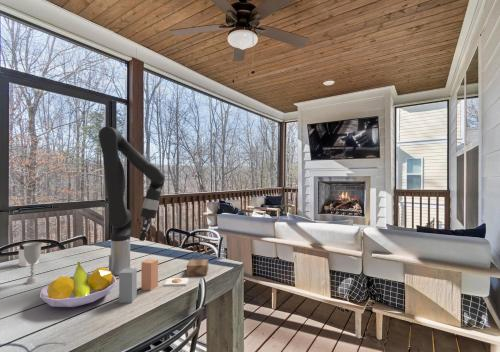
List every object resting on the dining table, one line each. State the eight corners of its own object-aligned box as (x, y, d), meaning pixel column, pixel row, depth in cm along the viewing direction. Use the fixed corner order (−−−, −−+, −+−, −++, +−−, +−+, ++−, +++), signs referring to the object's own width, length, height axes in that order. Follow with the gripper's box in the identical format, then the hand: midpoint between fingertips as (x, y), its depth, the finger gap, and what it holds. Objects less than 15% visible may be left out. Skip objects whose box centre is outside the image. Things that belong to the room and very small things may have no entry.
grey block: (119, 303, 107) (119, 272, 107) (124, 297, 112) (124, 268, 112) (132, 302, 108) (132, 272, 108) (136, 297, 113) (136, 268, 113)
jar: (22, 262, 156) (22, 241, 156) (40, 261, 159) (40, 240, 159) (16, 267, 148) (16, 245, 148) (35, 265, 151) (35, 244, 151)
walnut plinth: (186, 275, 137) (186, 265, 137) (189, 268, 147) (189, 259, 147) (206, 275, 138) (206, 265, 138) (208, 268, 148) (208, 259, 148)
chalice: (20, 286, 123) (20, 246, 123) (24, 281, 129) (24, 243, 129) (40, 283, 127) (40, 244, 127) (43, 278, 133) (43, 241, 133)
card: (164, 285, 124) (164, 283, 124) (167, 280, 131) (167, 278, 131) (186, 285, 125) (186, 283, 125) (188, 279, 132) (188, 277, 132)
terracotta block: (141, 289, 121) (141, 262, 121) (148, 284, 125) (148, 258, 125) (151, 290, 119) (151, 263, 119) (157, 286, 124) (158, 259, 124)
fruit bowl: (110, 309, 102) (110, 279, 102) (24, 320, 95) (24, 287, 95) (122, 281, 129) (122, 258, 129) (56, 288, 121) (56, 262, 121)
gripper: (143, 206, 147) (136, 236, 144) (141, 207, 133) (132, 240, 131) (158, 209, 149) (150, 239, 146) (156, 210, 135) (148, 242, 133)
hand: (142, 239), depth 139 cm, fingers open, 8 cm apart
